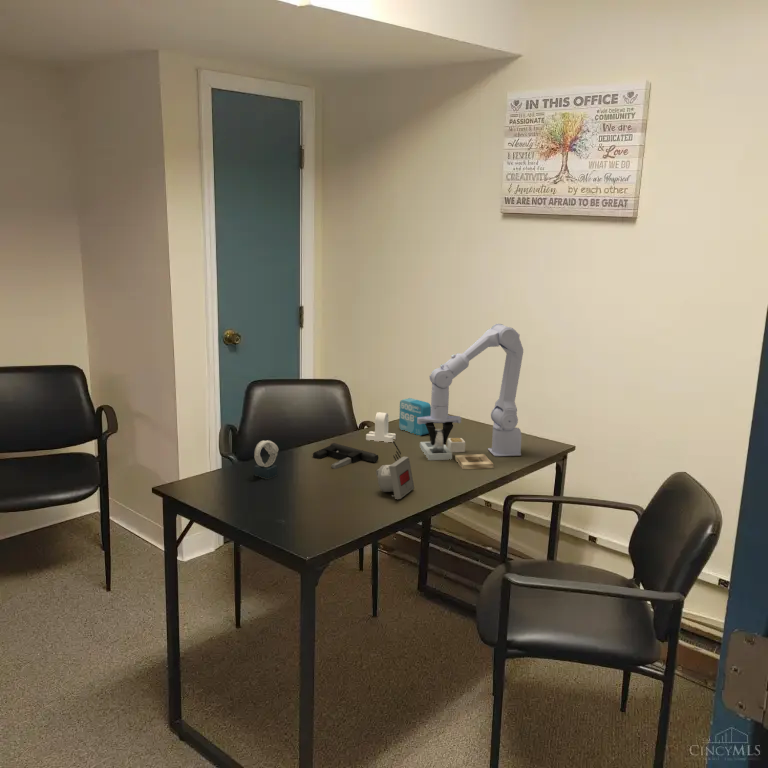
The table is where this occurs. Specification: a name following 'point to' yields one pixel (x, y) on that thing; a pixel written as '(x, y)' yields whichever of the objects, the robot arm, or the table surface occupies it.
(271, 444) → the grey ring on stand
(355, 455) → the submachine gun
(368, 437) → the cable organizer
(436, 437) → the grey rounded cylinder
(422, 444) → the frame
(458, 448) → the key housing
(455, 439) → the key
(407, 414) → the data package
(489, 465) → the wooden square frame
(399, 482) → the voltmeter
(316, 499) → the table surface
